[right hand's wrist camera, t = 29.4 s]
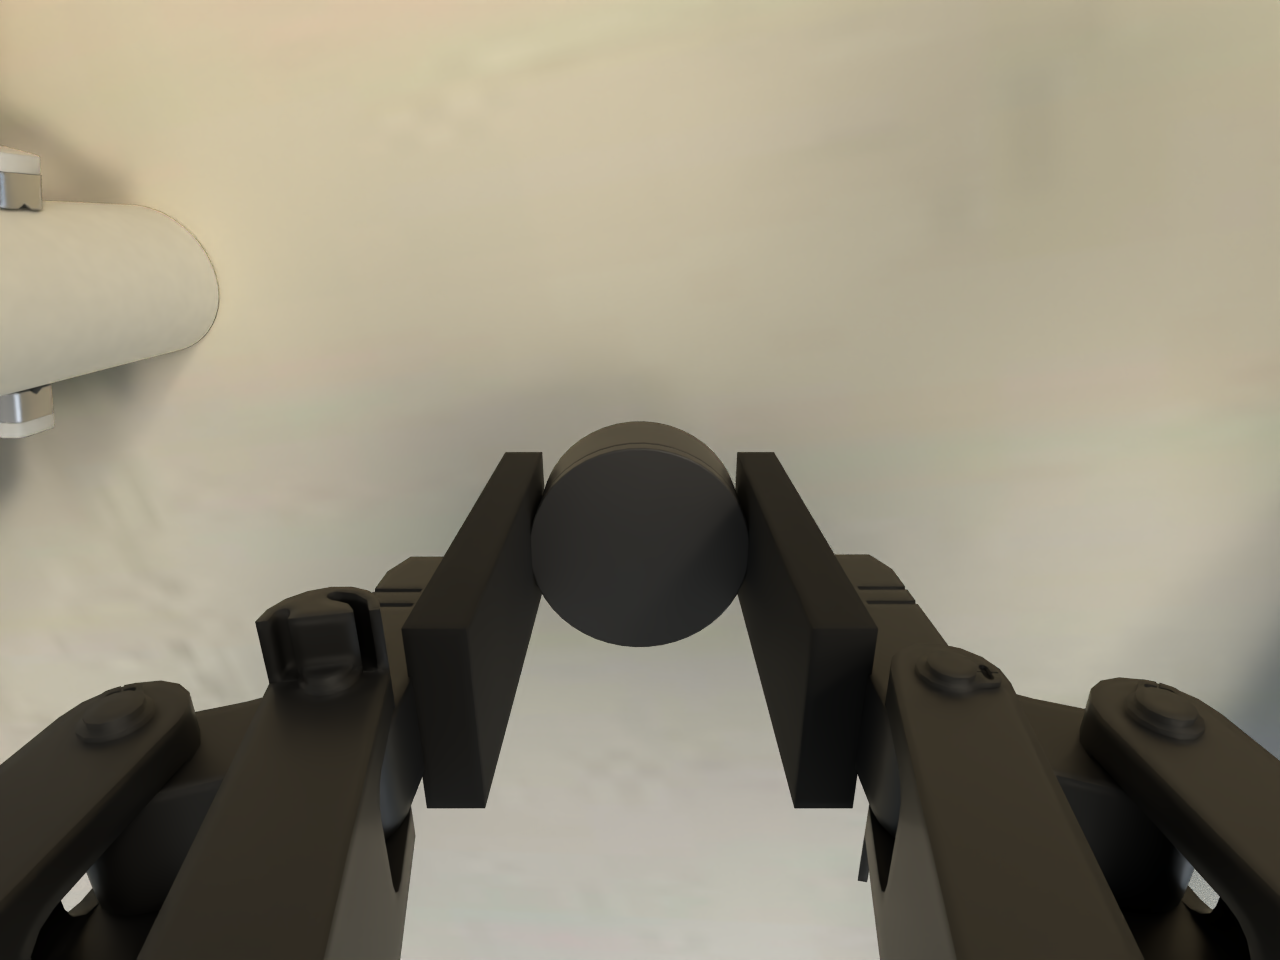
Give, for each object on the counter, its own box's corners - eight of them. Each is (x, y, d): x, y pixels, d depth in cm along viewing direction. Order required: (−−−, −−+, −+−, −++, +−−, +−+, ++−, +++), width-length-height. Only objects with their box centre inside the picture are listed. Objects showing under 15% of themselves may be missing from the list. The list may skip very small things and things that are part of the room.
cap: (505, 476, 14) (486, 511, 12) (683, 384, 13) (689, 408, 12) (601, 628, 15) (596, 678, 13) (768, 551, 14) (785, 594, 13)
